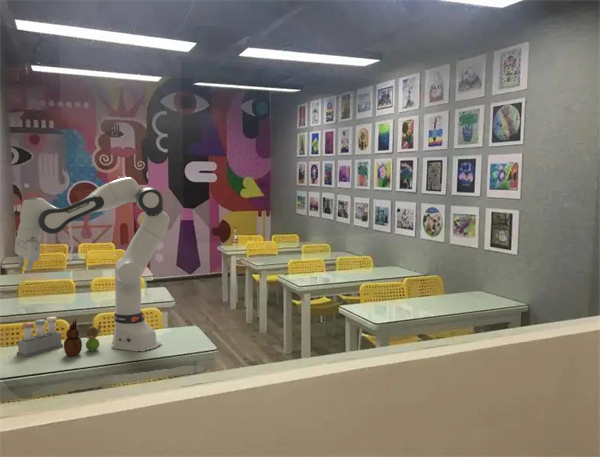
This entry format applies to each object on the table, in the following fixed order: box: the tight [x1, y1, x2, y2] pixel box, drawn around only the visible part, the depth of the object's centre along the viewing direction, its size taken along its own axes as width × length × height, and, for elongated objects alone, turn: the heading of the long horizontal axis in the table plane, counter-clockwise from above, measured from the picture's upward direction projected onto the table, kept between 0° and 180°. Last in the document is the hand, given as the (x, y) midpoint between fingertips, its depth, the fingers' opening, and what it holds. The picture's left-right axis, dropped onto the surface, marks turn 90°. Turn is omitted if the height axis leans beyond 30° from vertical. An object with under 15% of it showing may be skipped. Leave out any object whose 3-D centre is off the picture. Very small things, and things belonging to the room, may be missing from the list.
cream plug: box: [45, 316, 58, 335], centre depth 225 cm, size 4×4×8 cm
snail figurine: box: [85, 321, 102, 352], centre depth 222 cm, size 5×6×12 cm
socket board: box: [16, 331, 64, 358], centre depth 220 cm, size 7×17×6 cm, turn 153°
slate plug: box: [34, 318, 46, 339], centre depth 220 cm, size 4×4×8 cm
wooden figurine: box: [63, 318, 83, 357], centre depth 214 cm, size 7×6×15 cm
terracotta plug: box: [22, 321, 35, 342], centre depth 215 cm, size 4×4×8 cm
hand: (24, 268), depth 216 cm, fingers open, 8 cm apart
